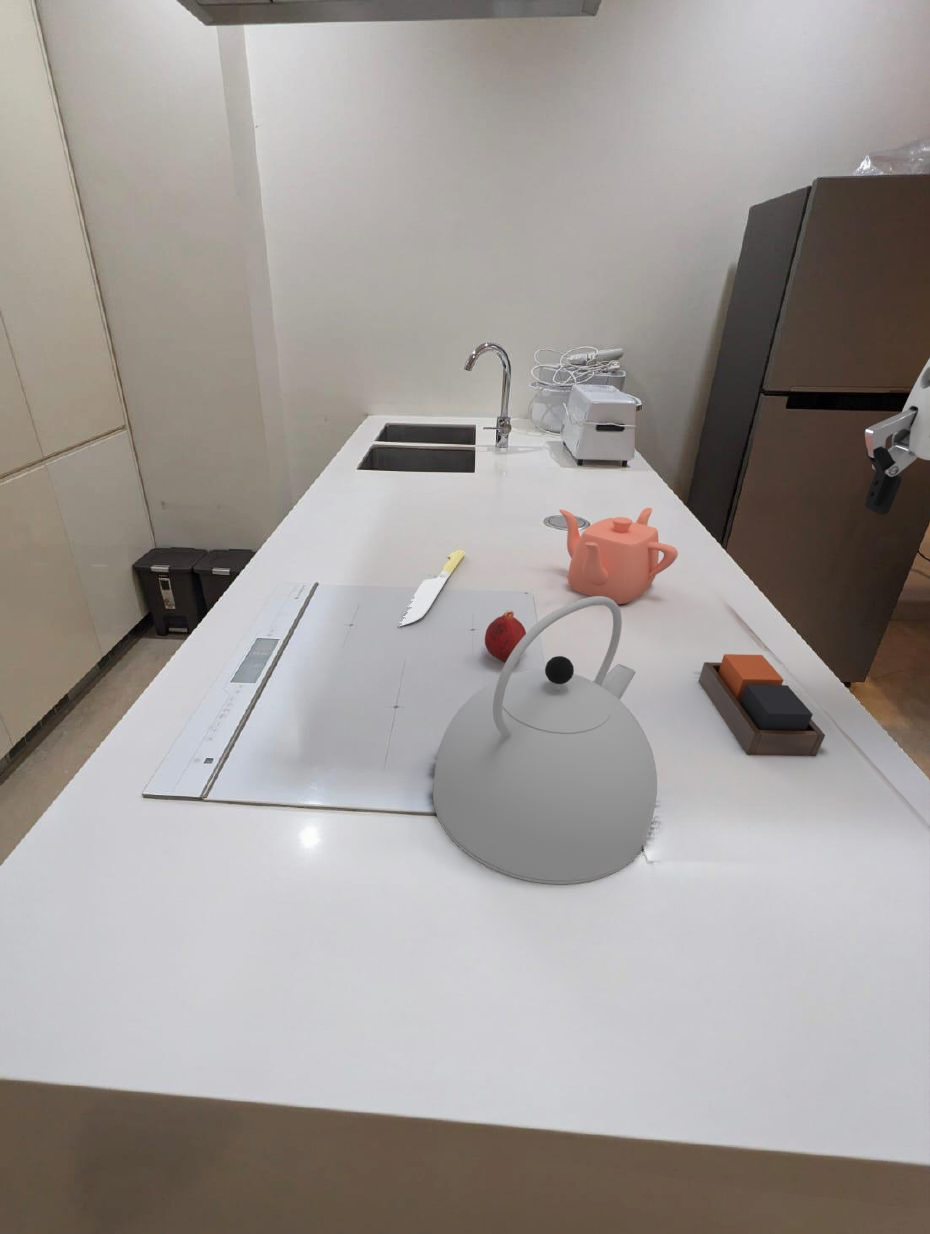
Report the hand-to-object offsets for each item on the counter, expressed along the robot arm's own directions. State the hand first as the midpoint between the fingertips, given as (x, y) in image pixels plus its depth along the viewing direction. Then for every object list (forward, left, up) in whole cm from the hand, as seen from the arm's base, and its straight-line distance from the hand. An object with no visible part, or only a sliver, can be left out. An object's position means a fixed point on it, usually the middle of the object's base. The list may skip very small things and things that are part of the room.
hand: (920, 511), depth 68 cm
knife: (+52, -35, -26) cm, 68 cm away
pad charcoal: (+12, +7, -25) cm, 29 cm away
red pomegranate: (+42, -10, -26) cm, 50 cm away
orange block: (+12, -1, -25) cm, 28 cm away
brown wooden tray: (+12, +3, -26) cm, 29 cm away
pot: (+21, -37, -26) cm, 50 cm away
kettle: (+40, +17, -26) cm, 51 cm away
